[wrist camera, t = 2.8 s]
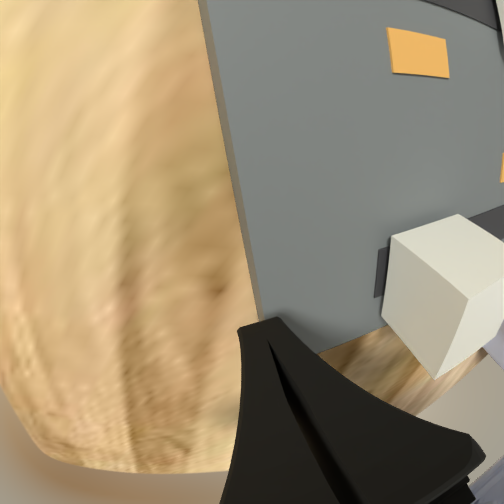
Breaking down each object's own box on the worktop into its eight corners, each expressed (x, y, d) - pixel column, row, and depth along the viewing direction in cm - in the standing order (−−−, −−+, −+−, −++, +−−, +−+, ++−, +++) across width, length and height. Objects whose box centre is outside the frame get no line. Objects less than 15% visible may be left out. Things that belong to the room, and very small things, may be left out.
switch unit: (518, 235, 17) (533, 245, 16) (263, 345, 14) (275, 373, 12) (522, 0, 7) (541, 1, 6) (180, -97, 4) (185, -123, 3)
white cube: (442, 287, 13) (495, 336, 9) (381, 315, 12) (434, 380, 9) (458, 213, 11) (527, 259, 7) (391, 235, 10) (468, 299, 7)
